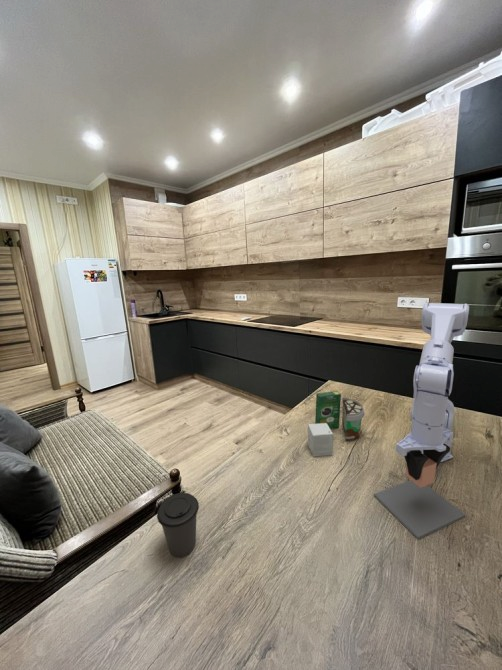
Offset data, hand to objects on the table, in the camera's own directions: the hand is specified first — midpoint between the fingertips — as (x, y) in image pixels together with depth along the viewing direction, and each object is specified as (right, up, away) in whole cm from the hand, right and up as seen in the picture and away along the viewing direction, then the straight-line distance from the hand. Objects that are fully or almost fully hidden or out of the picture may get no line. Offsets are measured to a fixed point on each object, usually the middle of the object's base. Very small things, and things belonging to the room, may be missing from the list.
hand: (421, 473), depth 62 cm
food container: (-4, -2, +31) cm, 31 cm away
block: (0, -1, +1) cm, 2 cm away
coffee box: (-12, -1, +34) cm, 36 cm away
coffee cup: (-52, -12, -5) cm, 54 cm away
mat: (0, -8, +2) cm, 9 cm away
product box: (-17, -4, +23) cm, 29 cm away
